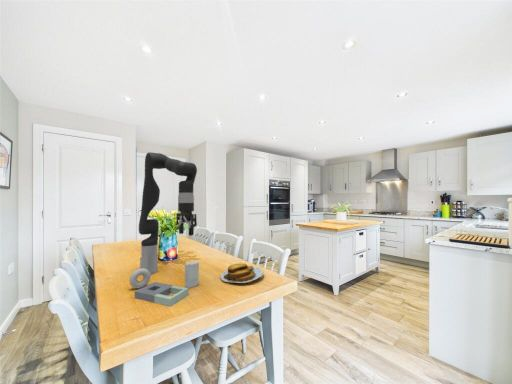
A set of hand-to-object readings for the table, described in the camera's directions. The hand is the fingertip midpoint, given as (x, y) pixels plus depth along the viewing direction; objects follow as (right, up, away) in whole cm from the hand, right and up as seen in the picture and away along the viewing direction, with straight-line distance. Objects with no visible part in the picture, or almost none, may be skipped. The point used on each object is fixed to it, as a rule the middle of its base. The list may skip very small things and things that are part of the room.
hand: (186, 234), depth 107 cm
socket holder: (-10, -28, -5) cm, 31 cm away
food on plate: (+27, -29, +19) cm, 44 cm away
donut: (-26, -29, +5) cm, 39 cm away
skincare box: (+1, -29, +7) cm, 30 cm away
